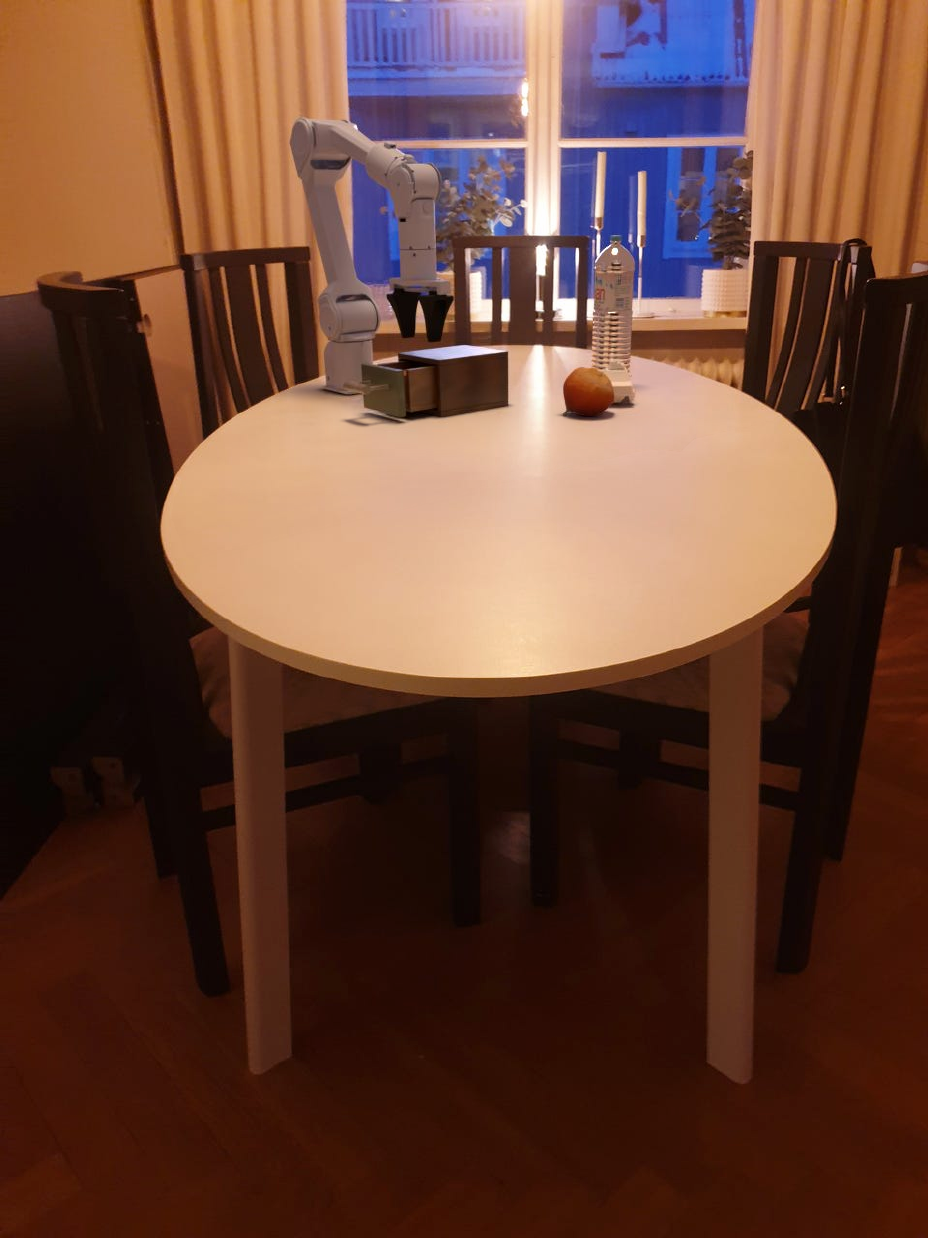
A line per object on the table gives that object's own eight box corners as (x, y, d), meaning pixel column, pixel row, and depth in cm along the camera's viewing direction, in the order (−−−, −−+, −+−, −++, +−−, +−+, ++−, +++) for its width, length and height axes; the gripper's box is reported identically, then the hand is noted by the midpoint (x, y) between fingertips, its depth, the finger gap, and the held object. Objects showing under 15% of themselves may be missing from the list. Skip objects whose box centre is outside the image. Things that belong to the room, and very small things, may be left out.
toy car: (630, 394, 154) (632, 353, 151) (636, 407, 143) (638, 363, 141) (594, 394, 155) (596, 353, 152) (598, 407, 144) (599, 364, 141)
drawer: (373, 421, 134) (370, 374, 131) (338, 411, 141) (334, 367, 139) (465, 406, 143) (464, 362, 140) (427, 397, 151) (426, 355, 148)
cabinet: (441, 416, 140) (439, 359, 137) (400, 406, 149) (397, 352, 145) (508, 405, 148) (508, 351, 144) (465, 396, 156) (464, 344, 153)
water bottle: (590, 383, 165) (595, 235, 155) (628, 383, 164) (635, 234, 154) (590, 390, 159) (595, 236, 148) (629, 390, 158) (637, 235, 148)
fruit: (561, 397, 144) (587, 354, 140) (601, 426, 143) (628, 383, 139) (543, 406, 138) (569, 362, 133) (584, 436, 137) (612, 392, 132)
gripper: (465, 248, 137) (467, 341, 143) (413, 247, 148) (416, 333, 154) (427, 250, 134) (431, 345, 139) (376, 249, 144) (381, 337, 150)
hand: (421, 339), depth 146 cm, fingers open, 7 cm apart
